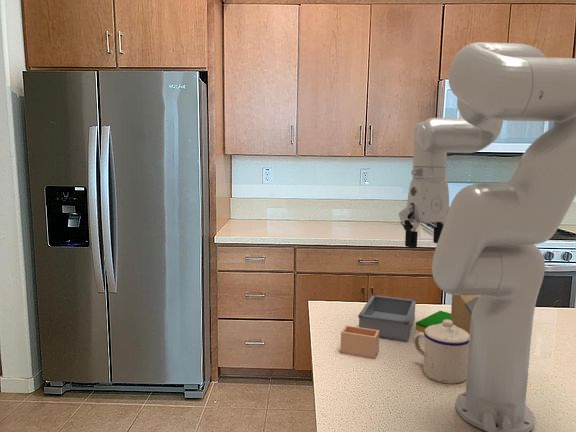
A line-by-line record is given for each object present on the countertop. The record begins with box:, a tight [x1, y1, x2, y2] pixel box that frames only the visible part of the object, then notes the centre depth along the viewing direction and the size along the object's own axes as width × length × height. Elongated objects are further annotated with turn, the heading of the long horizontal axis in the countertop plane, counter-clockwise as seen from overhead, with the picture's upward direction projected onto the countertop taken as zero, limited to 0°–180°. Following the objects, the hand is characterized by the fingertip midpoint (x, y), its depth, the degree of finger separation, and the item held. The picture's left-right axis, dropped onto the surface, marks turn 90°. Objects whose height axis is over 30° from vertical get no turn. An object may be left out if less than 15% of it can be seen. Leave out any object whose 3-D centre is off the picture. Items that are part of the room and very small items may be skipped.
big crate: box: [357, 294, 417, 343], centre depth 119 cm, size 18×12×5 cm
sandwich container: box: [450, 295, 481, 335], centre depth 104 cm, size 9×15×15 cm, turn 35°
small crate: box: [339, 325, 380, 360], centre depth 103 cm, size 4×8×5 cm, turn 68°
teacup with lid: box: [413, 319, 470, 385], centre depth 93 cm, size 12×9×12 cm
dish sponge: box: [415, 310, 451, 333], centre depth 119 cm, size 7×14×2 cm, turn 134°
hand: (425, 245), depth 108 cm, fingers open, 9 cm apart
